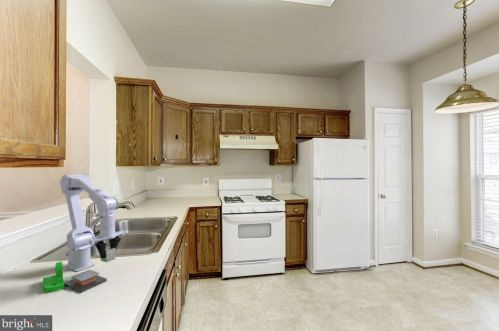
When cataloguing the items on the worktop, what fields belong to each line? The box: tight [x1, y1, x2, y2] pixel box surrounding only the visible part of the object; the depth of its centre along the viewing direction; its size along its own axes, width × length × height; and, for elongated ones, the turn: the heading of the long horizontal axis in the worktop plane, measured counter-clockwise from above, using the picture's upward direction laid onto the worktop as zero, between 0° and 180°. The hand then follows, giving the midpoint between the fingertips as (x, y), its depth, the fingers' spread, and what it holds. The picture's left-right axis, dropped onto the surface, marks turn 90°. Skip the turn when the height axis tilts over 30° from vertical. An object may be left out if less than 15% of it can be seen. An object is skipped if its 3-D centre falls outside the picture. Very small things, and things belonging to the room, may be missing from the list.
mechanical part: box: [42, 261, 65, 294], centre depth 95 cm, size 12×6×8 cm, turn 43°
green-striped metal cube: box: [100, 245, 116, 263], centre depth 104 cm, size 4×4×5 cm
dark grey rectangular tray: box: [64, 269, 108, 294], centre depth 97 cm, size 12×10×4 cm
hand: (107, 256), depth 104 cm, fingers closed on green-striped metal cube, 4 cm apart
